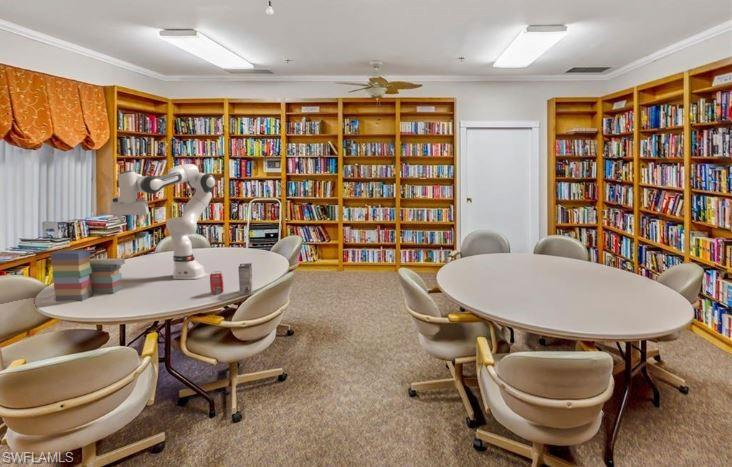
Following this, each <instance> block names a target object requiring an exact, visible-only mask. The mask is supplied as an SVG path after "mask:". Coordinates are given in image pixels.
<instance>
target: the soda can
mask: <svg viewBox="0 0 732 467" xmlns="http://www.w3.org/2000/svg"><path fill="white" fill-rule="evenodd" d="M209 284H210V285H209V286H210V288H209V289H210V293H211V294H213V295H219V294H222V293H224V291H225V290H224V288H225V287H224V274H223V273H222V271H219V270H218V271H217V270H216V271H212V272H210V275H209Z"/></svg>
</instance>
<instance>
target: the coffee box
mask: <svg viewBox="0 0 732 467" xmlns="http://www.w3.org/2000/svg"><path fill="white" fill-rule="evenodd" d="M237 269H238V283H239V284H238V285H239V287H238V288H239V295H251V294H252V291H253V273H252V272H253V271H252V269H253V268H252V262H250V263H240V264H239V266H238V268H237Z"/></svg>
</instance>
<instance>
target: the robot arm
mask: <svg viewBox="0 0 732 467" xmlns="http://www.w3.org/2000/svg"><path fill="white" fill-rule="evenodd" d="M183 183H186V184H187V185H188V187H191V188H193V189H195V192H194V194H193V195H192V196H191V198H190V199H189V201H187V203H186V204H185V206H184V208H183V209H184V211H183V213H182V215H181V217H179V216H173V217H170V218H168V220H166V224H165V226H166V229H167V231H168V232H169V234H170V237H171V240H172V241H171V242H172V248H173V256H172V257H173V262H174V264H173V274H172V278H173V279H174V280H199V279H202V278H205V277H207V276H209V272H205V267H204V265H202V264H200V263H199V262H198V261H197V260H196V255H194V254H193V248H192V247H193V245H192V241H191V239H190V238H189V235H193V234H195V232H197V229H198V224H197V223H198V221H199V218H200V217H201V215H202V213H203V212H204V211H205V209H206V208H207V207H208V205H209V203H210V202H211V200H212V197H213V194H212V192H213V191H214V189H215V187H216V183H217V180H216V178H215V176H213V175H212V174H209V173H204V172H199V168H198V167H197V165H195V164H194V163H185V164H180V165H176V166H173V167H171V168H169V169H168V170H167V174H164V175H161V176H153V175H152V176H149V175H148V176H144V175H140V174H138V173H137V172H136V171H135V170H124V171H121V172H119V174H118V188H119V196H116V197H113V198H110V202H111V203H110V205H109V206H110V207H109V212H110V214H111V215H112V216H117V219H118V220H119V222H120V224H124V223H125V219H123V216H138V217H139V218H138V219H136V224H138V223H139V224H141V223H142V219H143V217H144V216H147V215H149V214H150V210H149V203H148V200H146V198H139V197H138V193H143V194H151V195H154V194H157V193H158V192H160V191H161V190H162V189H163V188H167V187H168V186H171V185H177V184H183Z"/></svg>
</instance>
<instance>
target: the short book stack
mask: <svg viewBox="0 0 732 467" xmlns="http://www.w3.org/2000/svg"><path fill="white" fill-rule="evenodd" d="M90 267H91V269H92V273H90V274H89V276H90V278H92V283H93V284H92V285H91V290H93V295H114V294H116V293H118V292H120V291H121V290H122V289H123V286H122V279H123V278H122V272H120V269H121V268H122V265H90Z"/></svg>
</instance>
